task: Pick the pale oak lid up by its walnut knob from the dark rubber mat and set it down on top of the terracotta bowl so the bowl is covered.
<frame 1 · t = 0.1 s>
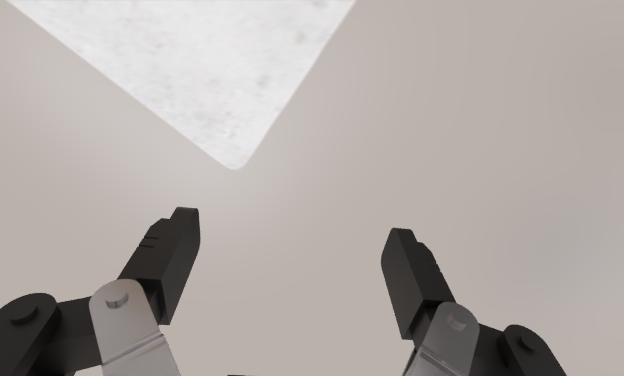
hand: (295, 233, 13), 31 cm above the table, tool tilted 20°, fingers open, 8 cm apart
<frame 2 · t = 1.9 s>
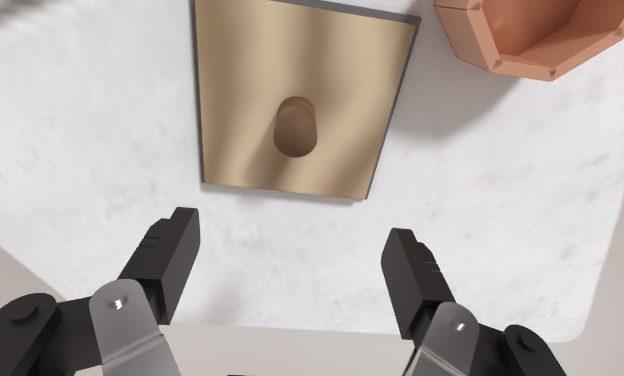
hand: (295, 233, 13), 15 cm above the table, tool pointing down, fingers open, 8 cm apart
rubber mat: (296, 109, 26), on the table
oak lid: (296, 111, 25), resting on rubber mat
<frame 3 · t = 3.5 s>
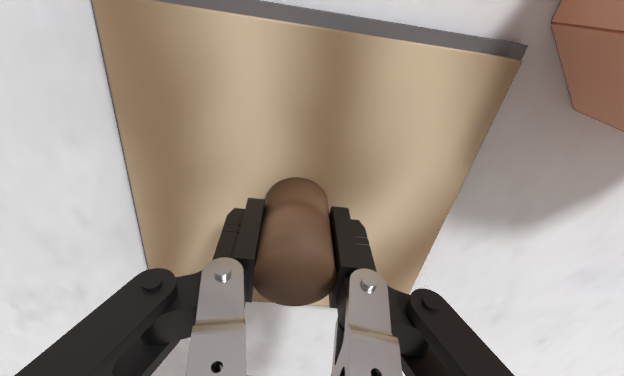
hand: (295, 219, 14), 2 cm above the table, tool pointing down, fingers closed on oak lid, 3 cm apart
rubber mat: (296, 189, 16), on the table
oak lid: (296, 194, 15), resting on rubber mat, touching gripper
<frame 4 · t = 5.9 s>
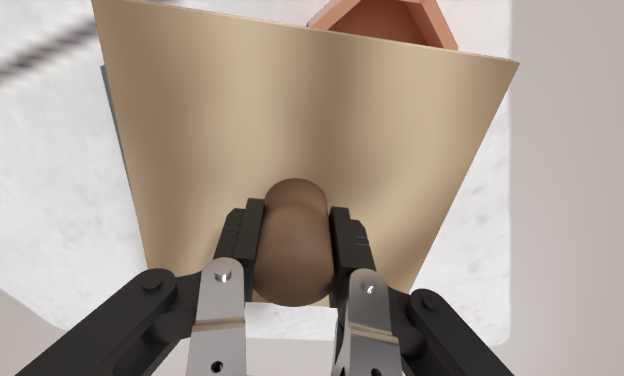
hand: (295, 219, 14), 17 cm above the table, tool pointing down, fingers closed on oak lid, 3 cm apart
rubber mat: (207, 157, 31), on the table
oak lid: (295, 195, 15), point 15 cm above the table, touching gripper
terracotta bowl: (365, 58, 26), on the table
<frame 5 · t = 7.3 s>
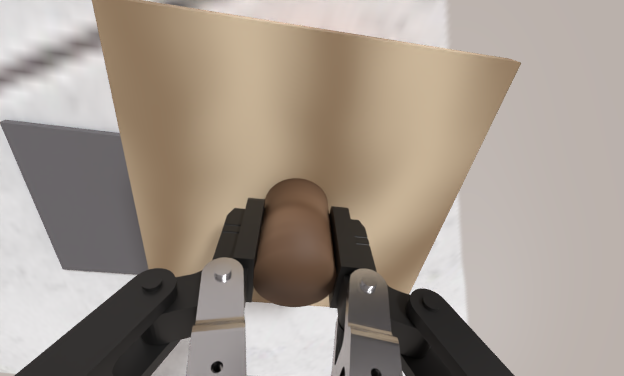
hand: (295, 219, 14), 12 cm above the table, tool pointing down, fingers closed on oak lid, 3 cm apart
rubber mat: (133, 212, 28), on the table
oak lid: (296, 195, 15), point 10 cm above the table, touching gripper
when the fingers open (8 cm above the table, at t = 8.3 s): oak lid drops 1 cm, resting on terracotta bowl.
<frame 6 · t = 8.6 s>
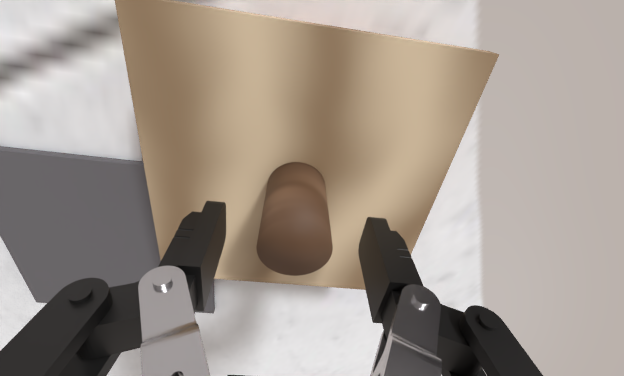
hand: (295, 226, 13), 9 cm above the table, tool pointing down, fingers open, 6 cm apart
rubber mat: (112, 242, 25), on the table
oak lid: (296, 179, 16), point 5 cm above the table, touching terracotta bowl
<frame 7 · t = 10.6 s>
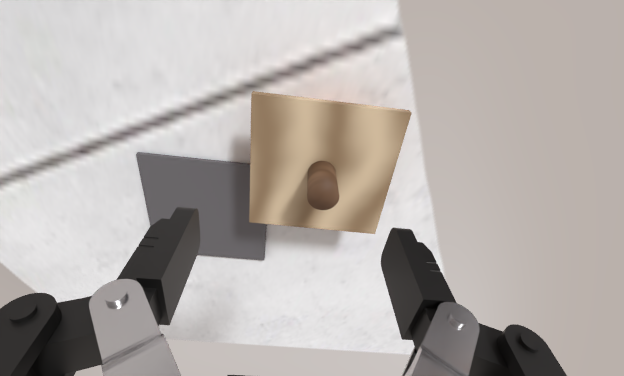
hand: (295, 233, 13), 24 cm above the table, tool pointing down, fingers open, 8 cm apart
rubber mat: (208, 211, 42), on the table
oak lid: (321, 169, 33), point 5 cm above the table, touching terracotta bowl
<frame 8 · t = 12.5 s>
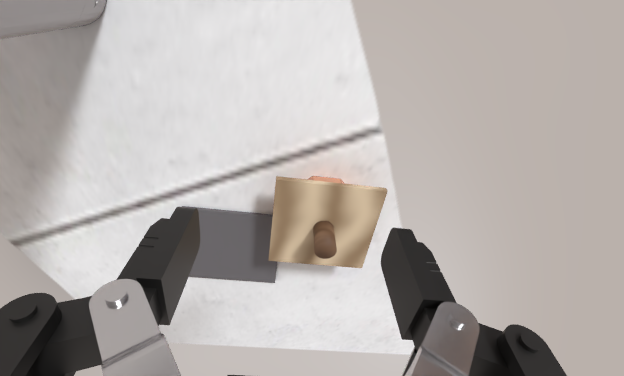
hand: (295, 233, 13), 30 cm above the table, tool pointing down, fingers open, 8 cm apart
rubber mat: (233, 247, 54), on the table
oak lid: (323, 225, 45), point 5 cm above the table, touching terracotta bowl
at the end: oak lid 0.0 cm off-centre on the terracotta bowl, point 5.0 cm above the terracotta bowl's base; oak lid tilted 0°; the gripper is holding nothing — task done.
